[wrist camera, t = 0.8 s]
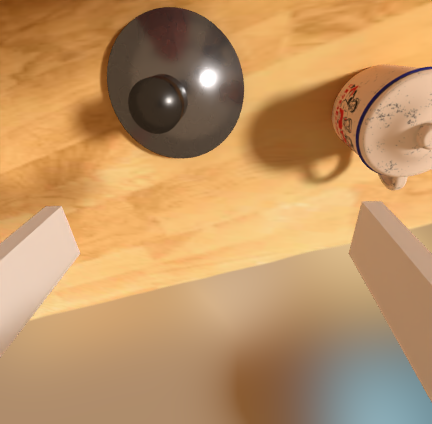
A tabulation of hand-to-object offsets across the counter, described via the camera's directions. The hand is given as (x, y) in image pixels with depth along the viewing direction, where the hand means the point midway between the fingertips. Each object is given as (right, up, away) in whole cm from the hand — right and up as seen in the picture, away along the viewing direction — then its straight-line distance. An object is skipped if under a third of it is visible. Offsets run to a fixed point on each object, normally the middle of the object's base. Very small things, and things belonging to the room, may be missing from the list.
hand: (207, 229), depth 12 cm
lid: (-4, +15, +19) cm, 24 cm away
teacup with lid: (+18, +11, +19) cm, 28 cm away
